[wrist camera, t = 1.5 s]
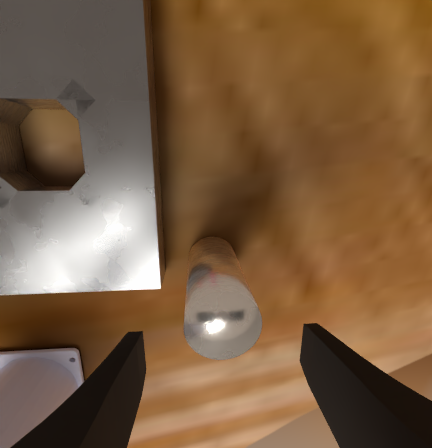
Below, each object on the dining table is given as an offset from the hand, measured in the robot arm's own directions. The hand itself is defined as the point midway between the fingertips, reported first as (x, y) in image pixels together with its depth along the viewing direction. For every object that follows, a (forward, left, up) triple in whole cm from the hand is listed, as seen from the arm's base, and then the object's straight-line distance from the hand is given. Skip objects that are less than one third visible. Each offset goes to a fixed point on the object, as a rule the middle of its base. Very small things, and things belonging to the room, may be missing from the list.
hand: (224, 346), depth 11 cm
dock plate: (+9, +11, -11) cm, 18 cm away
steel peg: (0, 0, -11) cm, 11 cm away
